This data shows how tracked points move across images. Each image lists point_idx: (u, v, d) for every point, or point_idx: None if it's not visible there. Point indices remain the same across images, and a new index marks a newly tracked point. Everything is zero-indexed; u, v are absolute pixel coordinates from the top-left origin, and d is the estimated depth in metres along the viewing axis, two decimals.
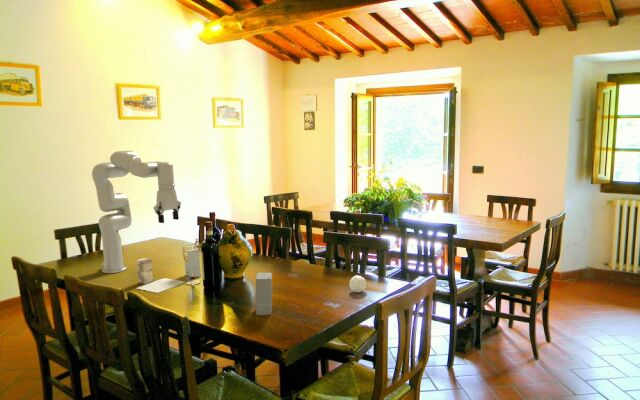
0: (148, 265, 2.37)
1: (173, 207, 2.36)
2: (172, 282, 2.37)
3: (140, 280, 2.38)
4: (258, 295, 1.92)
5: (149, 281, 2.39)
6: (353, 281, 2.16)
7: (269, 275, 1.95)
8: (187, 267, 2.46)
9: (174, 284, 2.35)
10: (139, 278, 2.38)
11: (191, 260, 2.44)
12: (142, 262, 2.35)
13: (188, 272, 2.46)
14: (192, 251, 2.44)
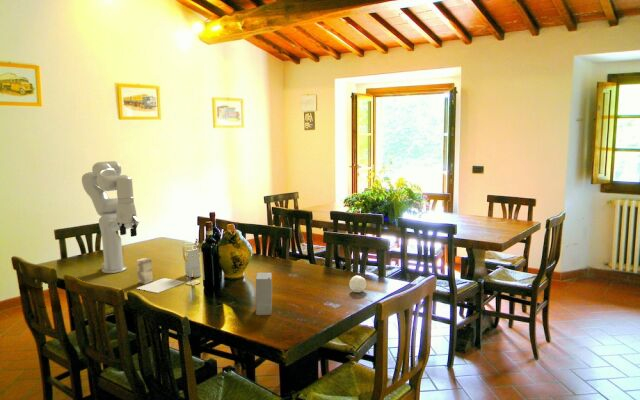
0: (148, 265, 2.37)
1: None
2: (172, 282, 2.37)
3: (140, 280, 2.38)
4: (258, 295, 1.92)
5: (149, 281, 2.39)
6: (353, 281, 2.16)
7: (269, 275, 1.95)
8: (187, 267, 2.46)
9: (174, 284, 2.35)
10: (139, 278, 2.38)
11: (191, 260, 2.44)
12: (142, 262, 2.35)
13: (188, 272, 2.46)
14: (192, 251, 2.44)
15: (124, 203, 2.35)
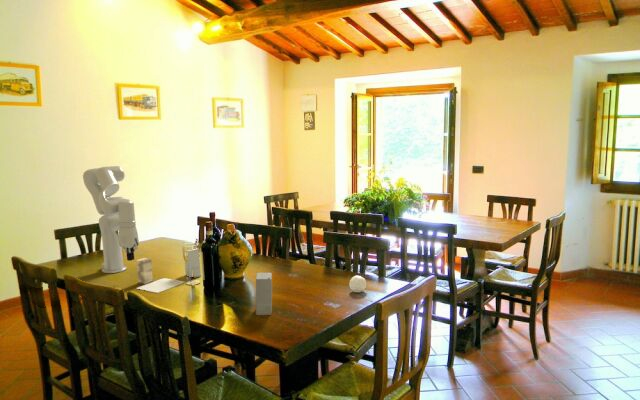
0: (148, 265, 2.37)
1: None
2: (172, 282, 2.37)
3: (140, 280, 2.38)
4: (258, 295, 1.92)
5: (149, 281, 2.39)
6: (353, 281, 2.16)
7: (269, 275, 1.95)
8: (187, 267, 2.46)
9: (174, 284, 2.35)
10: (139, 278, 2.38)
11: (191, 260, 2.44)
12: (142, 262, 2.35)
13: (188, 272, 2.46)
14: (192, 251, 2.44)
15: (126, 227, 2.37)
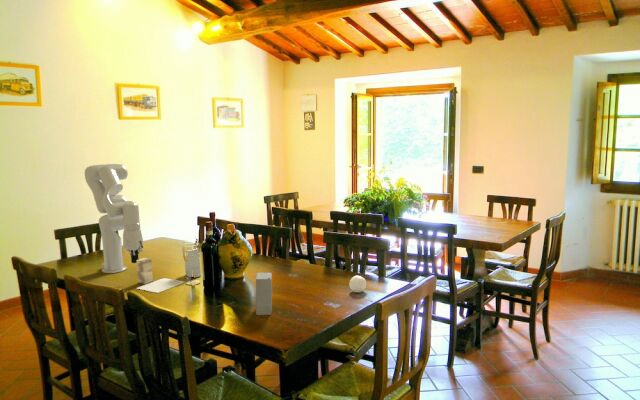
0: (148, 265, 2.37)
1: None
2: (172, 282, 2.37)
3: (140, 280, 2.38)
4: (258, 295, 1.92)
5: (149, 281, 2.39)
6: (353, 281, 2.16)
7: (269, 275, 1.95)
8: (187, 267, 2.46)
9: (174, 284, 2.35)
10: (139, 278, 2.38)
11: (191, 260, 2.44)
12: (142, 262, 2.35)
13: (188, 272, 2.46)
14: (192, 251, 2.44)
15: (130, 230, 2.35)
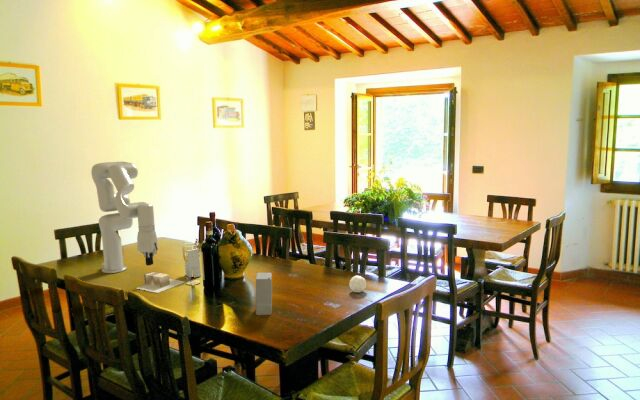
0: None
1: None
2: (172, 282, 2.37)
3: (147, 278, 2.35)
4: (258, 295, 1.92)
5: None
6: (353, 281, 2.16)
7: (269, 275, 1.95)
8: (187, 267, 2.46)
9: (174, 284, 2.35)
10: (148, 277, 2.34)
11: (191, 260, 2.44)
12: (161, 285, 2.31)
13: (188, 272, 2.46)
14: (192, 251, 2.44)
15: (145, 231, 2.30)
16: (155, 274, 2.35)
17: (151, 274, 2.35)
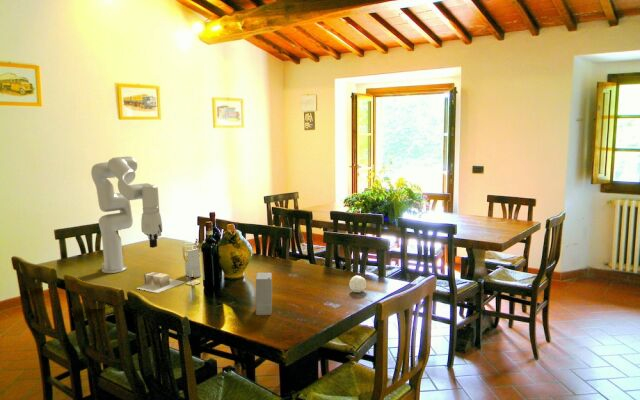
0: None
1: None
2: (172, 282, 2.37)
3: (147, 278, 2.35)
4: (258, 295, 1.92)
5: None
6: (353, 281, 2.16)
7: (269, 275, 1.95)
8: (187, 267, 2.46)
9: (174, 284, 2.35)
10: (148, 277, 2.34)
11: (191, 260, 2.44)
12: (161, 285, 2.31)
13: (188, 272, 2.46)
14: (192, 251, 2.44)
15: (150, 213, 2.27)
16: (155, 274, 2.35)
17: (151, 274, 2.35)
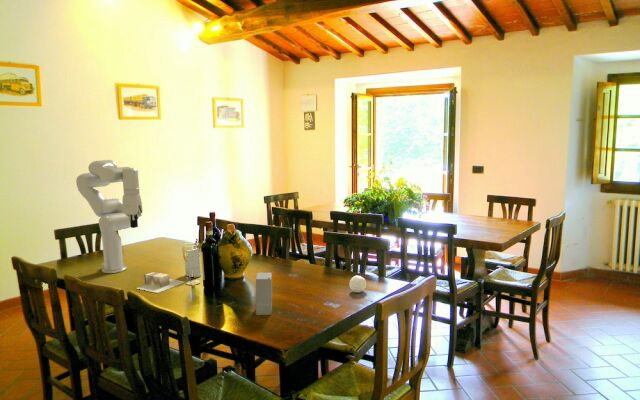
0: None
1: None
2: (172, 282, 2.37)
3: (147, 278, 2.35)
4: (258, 295, 1.92)
5: None
6: (353, 281, 2.16)
7: (269, 275, 1.95)
8: (187, 267, 2.46)
9: (174, 284, 2.35)
10: (148, 277, 2.34)
11: (191, 260, 2.44)
12: (161, 285, 2.31)
13: (188, 272, 2.46)
14: (192, 251, 2.44)
15: (130, 194, 2.38)
16: (155, 274, 2.35)
17: (151, 274, 2.35)
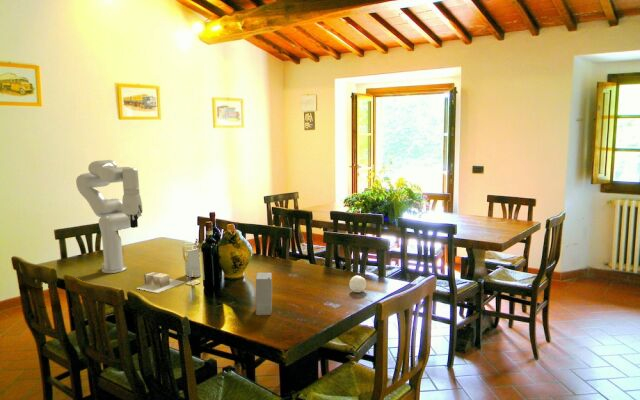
0: None
1: None
2: (172, 282, 2.37)
3: (147, 278, 2.35)
4: (258, 295, 1.92)
5: None
6: (353, 281, 2.16)
7: (269, 275, 1.95)
8: (187, 267, 2.46)
9: (174, 284, 2.35)
10: (148, 277, 2.34)
11: (191, 260, 2.44)
12: (161, 285, 2.31)
13: (188, 272, 2.46)
14: (192, 251, 2.44)
15: (130, 194, 2.38)
16: (155, 274, 2.35)
17: (151, 274, 2.35)
